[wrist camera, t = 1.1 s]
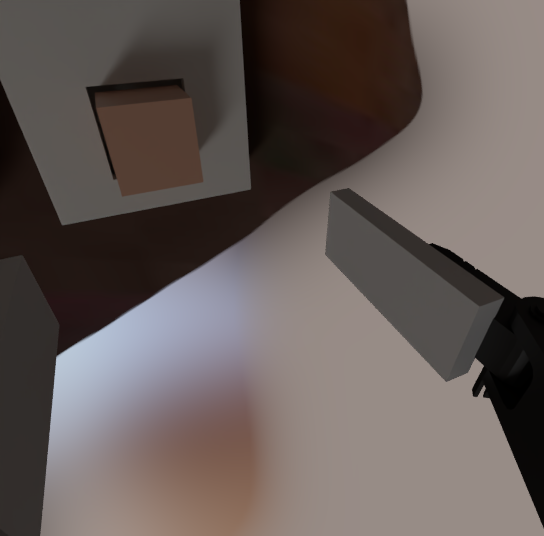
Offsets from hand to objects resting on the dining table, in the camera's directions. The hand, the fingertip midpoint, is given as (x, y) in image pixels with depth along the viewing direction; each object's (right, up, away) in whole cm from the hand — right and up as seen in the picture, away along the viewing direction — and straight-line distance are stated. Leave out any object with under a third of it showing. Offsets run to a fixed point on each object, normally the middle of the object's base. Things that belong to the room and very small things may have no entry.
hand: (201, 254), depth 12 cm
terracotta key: (-6, +9, +12) cm, 16 cm away
